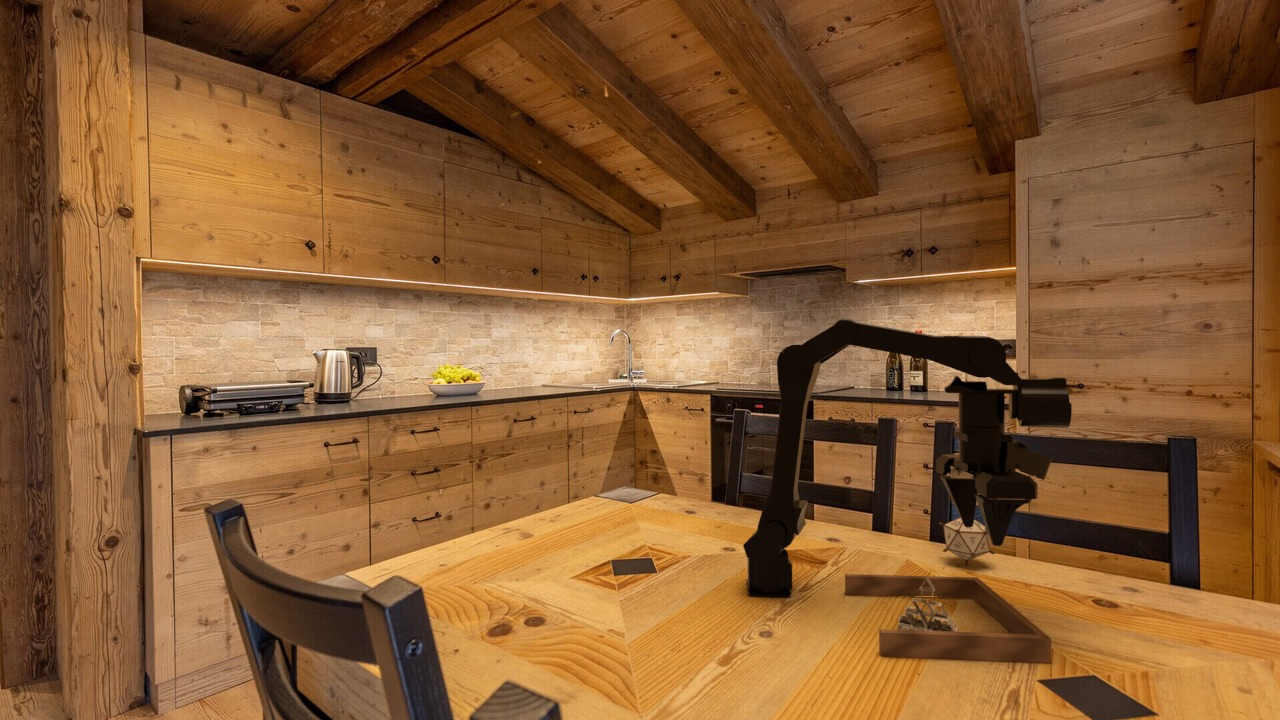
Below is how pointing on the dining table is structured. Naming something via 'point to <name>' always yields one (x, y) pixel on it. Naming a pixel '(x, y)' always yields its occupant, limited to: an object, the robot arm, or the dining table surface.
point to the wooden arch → (1013, 647)
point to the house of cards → (923, 623)
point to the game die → (966, 539)
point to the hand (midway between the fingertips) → (982, 535)
